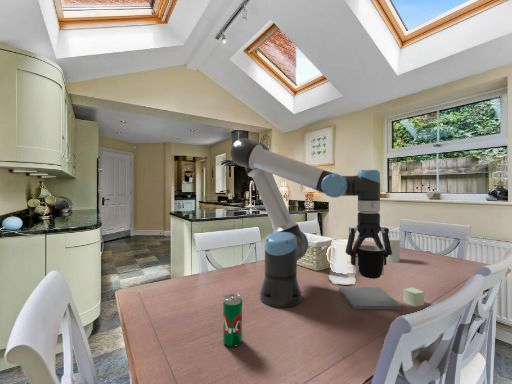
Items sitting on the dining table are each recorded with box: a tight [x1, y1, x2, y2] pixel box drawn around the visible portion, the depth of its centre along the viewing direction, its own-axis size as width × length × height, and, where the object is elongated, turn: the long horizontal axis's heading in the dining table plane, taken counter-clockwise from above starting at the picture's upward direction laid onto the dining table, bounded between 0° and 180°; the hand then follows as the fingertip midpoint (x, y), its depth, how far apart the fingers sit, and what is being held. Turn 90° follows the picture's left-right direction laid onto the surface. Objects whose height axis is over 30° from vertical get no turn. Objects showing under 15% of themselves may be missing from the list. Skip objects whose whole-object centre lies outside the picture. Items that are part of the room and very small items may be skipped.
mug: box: [356, 244, 384, 280], centre depth 94 cm, size 12×9×10 cm
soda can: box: [222, 293, 243, 347], centre depth 68 cm, size 5×5×12 cm
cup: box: [382, 237, 401, 263], centre depth 145 cm, size 8×8×12 cm
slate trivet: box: [338, 286, 403, 310], centre depth 95 cm, size 16×16×1 cm
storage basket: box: [297, 232, 337, 272], centre depth 137 cm, size 24×16×15 cm
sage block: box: [402, 287, 425, 307], centre depth 91 cm, size 4×4×4 cm
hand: (368, 273), depth 94 cm, fingers closed on mug, 9 cm apart
